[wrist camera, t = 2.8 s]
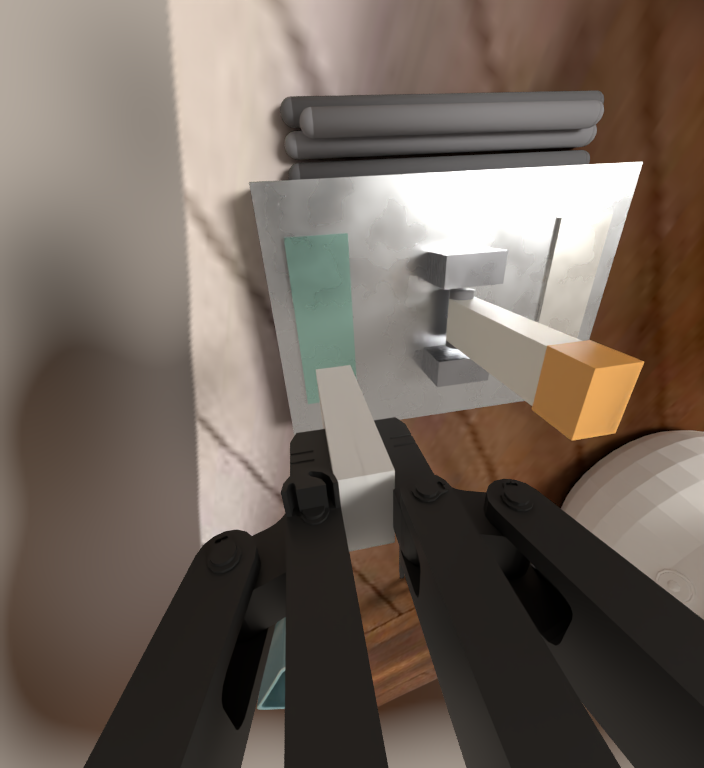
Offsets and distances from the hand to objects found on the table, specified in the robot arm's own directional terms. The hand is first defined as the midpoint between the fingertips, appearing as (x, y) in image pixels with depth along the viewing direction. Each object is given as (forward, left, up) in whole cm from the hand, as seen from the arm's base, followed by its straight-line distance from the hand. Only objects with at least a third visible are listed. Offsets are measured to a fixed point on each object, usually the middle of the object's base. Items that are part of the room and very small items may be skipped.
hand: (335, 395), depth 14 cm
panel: (0, +10, -13) cm, 16 cm away
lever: (0, +10, -9) cm, 13 cm away
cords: (-11, +10, -13) cm, 20 cm away
